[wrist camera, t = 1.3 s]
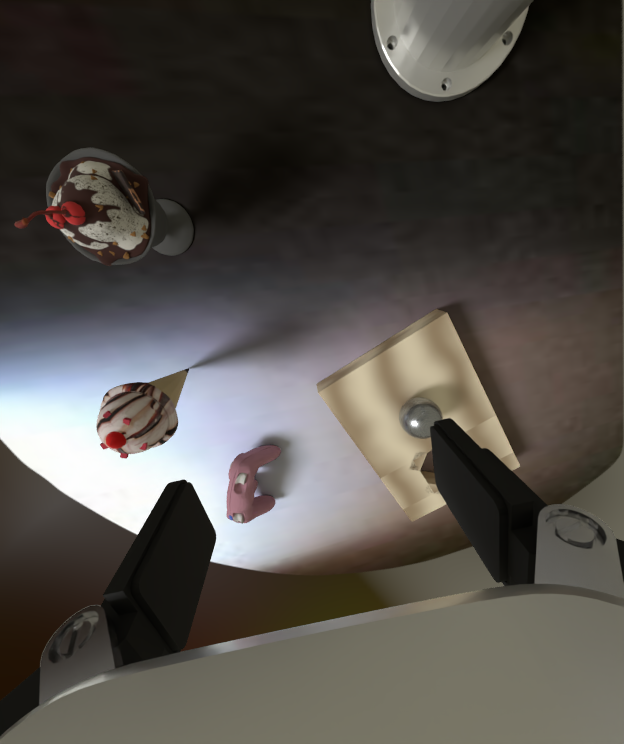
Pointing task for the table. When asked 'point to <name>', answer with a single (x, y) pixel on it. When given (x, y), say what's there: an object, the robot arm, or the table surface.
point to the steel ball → (419, 417)
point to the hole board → (404, 382)
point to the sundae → (111, 210)
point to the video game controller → (248, 484)
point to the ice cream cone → (140, 414)
